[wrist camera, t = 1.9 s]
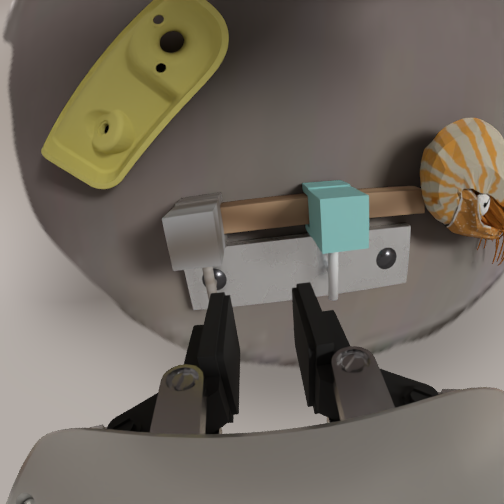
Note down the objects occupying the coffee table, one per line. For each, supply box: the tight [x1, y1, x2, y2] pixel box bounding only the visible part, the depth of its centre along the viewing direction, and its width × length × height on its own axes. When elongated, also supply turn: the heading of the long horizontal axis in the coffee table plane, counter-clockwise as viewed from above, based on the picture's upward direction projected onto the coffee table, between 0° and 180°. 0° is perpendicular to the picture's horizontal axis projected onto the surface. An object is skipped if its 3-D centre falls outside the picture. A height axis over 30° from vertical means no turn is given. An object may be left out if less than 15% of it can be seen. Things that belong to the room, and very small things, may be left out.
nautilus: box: [420, 118, 504, 265], centre depth 26 cm, size 8×22×15 cm
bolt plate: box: [184, 223, 411, 310], centre depth 31 cm, size 7×25×1 cm, turn 97°
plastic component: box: [41, 0, 229, 189], centre depth 23 cm, size 20×7×10 cm
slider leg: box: [302, 180, 369, 301], centre depth 27 cm, size 11×4×8 cm, turn 7°
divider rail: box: [162, 186, 425, 299], centre depth 27 cm, size 11×25×8 cm, turn 97°
